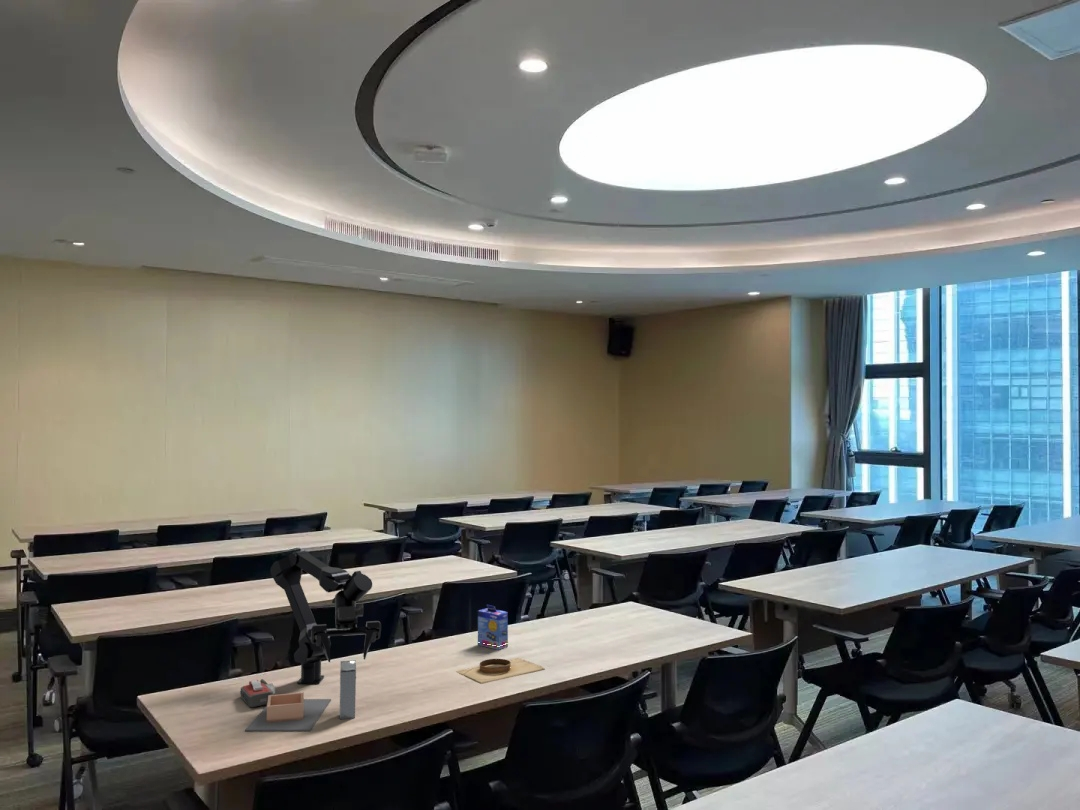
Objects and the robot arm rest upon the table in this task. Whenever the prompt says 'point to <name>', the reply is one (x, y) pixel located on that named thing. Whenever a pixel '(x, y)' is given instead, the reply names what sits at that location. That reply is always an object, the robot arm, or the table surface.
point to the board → (499, 670)
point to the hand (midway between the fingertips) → (347, 660)
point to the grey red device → (257, 693)
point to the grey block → (347, 689)
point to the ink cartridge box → (492, 627)
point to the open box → (285, 707)
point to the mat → (310, 717)
